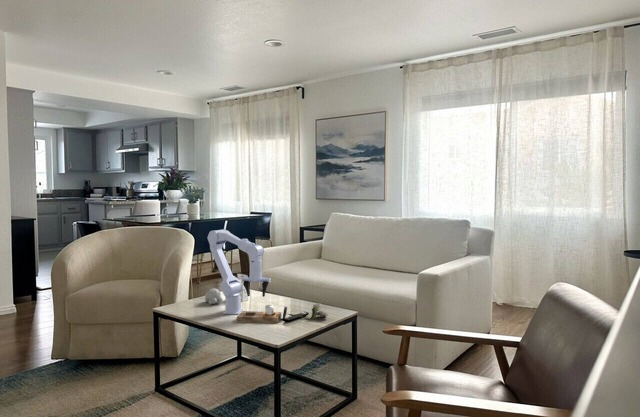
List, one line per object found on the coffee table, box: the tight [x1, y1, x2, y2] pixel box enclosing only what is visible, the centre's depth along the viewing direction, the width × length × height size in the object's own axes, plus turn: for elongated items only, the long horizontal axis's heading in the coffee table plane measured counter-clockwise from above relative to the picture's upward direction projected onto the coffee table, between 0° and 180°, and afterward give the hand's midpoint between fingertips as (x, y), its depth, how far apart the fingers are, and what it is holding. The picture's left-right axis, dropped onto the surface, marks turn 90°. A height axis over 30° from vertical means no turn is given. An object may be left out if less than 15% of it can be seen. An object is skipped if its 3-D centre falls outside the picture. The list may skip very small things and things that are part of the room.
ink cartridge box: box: [236, 273, 249, 303], centre depth 261 cm, size 9×5×15 cm, turn 58°
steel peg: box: [264, 304, 275, 316], centre depth 222 cm, size 4×4×7 cm
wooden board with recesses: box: [236, 310, 282, 324], centre depth 223 cm, size 10×20×3 cm, turn 84°
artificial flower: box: [281, 303, 329, 321], centre depth 225 cm, size 9×22×10 cm, turn 92°
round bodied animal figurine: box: [204, 287, 223, 306], centre depth 254 cm, size 7×12×8 cm, turn 47°
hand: (256, 296), depth 228 cm, fingers open, 7 cm apart
